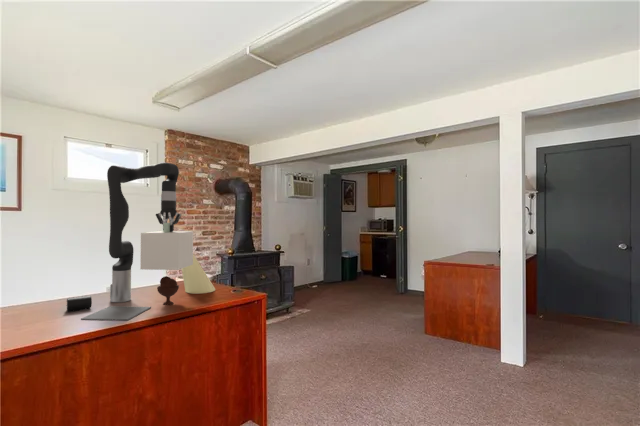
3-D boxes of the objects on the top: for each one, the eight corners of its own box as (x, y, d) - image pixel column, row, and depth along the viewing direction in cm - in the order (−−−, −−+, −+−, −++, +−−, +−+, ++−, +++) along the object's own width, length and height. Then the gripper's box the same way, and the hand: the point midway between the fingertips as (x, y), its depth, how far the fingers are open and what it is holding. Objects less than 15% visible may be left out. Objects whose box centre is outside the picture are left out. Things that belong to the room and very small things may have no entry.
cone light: (208, 286, 238) (209, 234, 238) (220, 290, 224) (220, 235, 224) (171, 291, 223) (171, 235, 223) (180, 296, 209) (181, 237, 209)
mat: (80, 319, 161) (80, 318, 161) (109, 307, 183) (109, 306, 183) (127, 320, 161) (127, 319, 161) (151, 307, 182) (151, 306, 182)
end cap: (67, 313, 171) (67, 299, 171) (65, 310, 177) (65, 297, 177) (91, 310, 178) (91, 296, 178) (89, 307, 183) (89, 294, 183)
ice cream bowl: (164, 307, 183) (164, 278, 183) (153, 304, 190) (153, 276, 190) (182, 303, 191) (183, 276, 192) (171, 300, 198) (172, 274, 198)
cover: (140, 269, 181) (140, 223, 181) (158, 264, 200) (159, 222, 201) (178, 269, 180) (178, 223, 181) (192, 264, 200) (193, 222, 200)
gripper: (152, 199, 187) (152, 232, 187) (178, 199, 187) (178, 232, 187) (159, 200, 195) (159, 231, 194) (184, 200, 194) (184, 231, 194)
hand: (168, 231), depth 191 cm, fingers closed on cover, 2 cm apart
